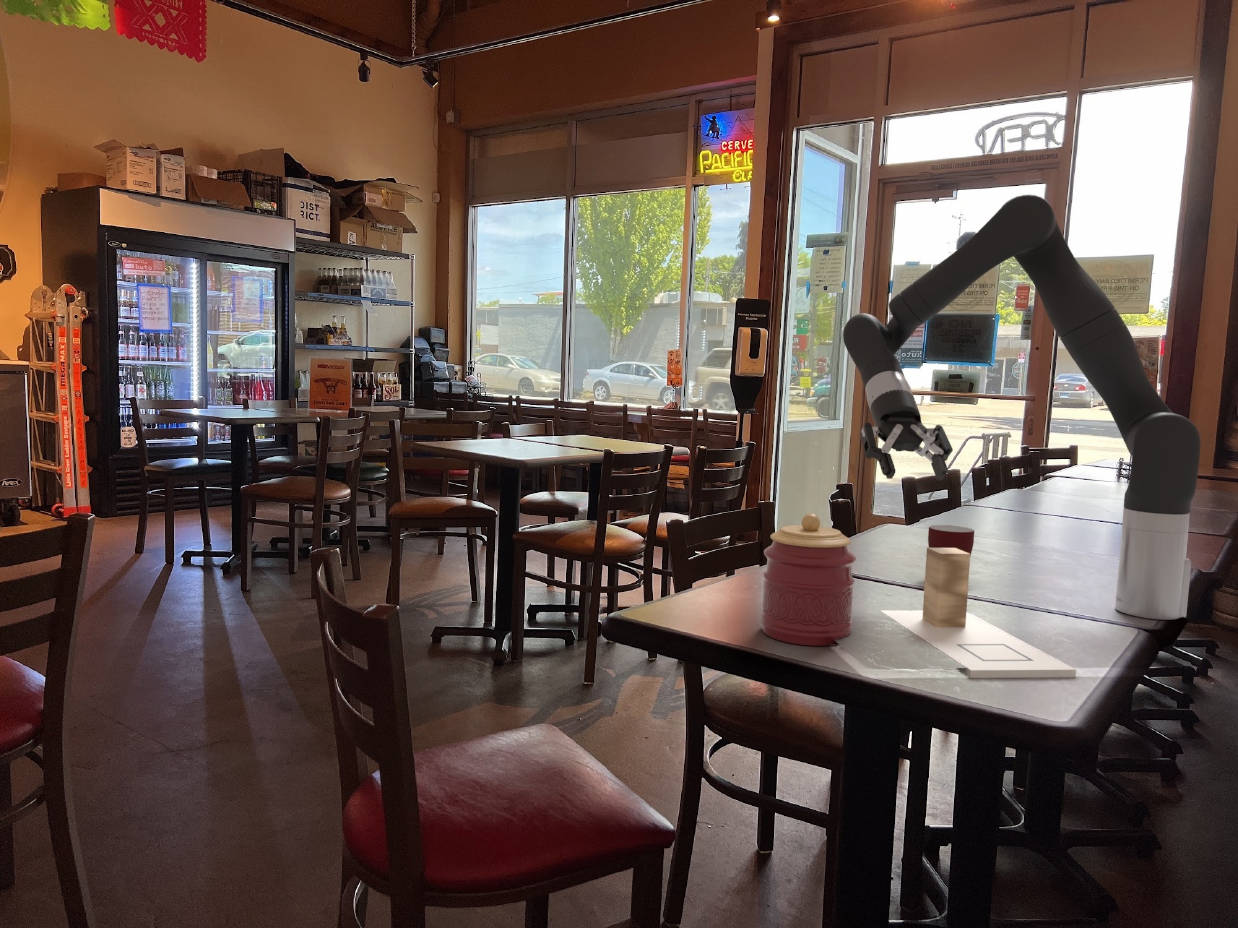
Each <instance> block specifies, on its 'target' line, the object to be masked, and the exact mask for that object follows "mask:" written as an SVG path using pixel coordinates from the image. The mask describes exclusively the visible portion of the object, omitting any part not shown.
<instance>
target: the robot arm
mask: <svg viewBox="0 0 1238 928" xmlns="http://www.w3.org/2000/svg"><path fill="white" fill-rule="evenodd" d="M1011 258H1014V259H1015V260H1016V261H1017V263H1018V264H1019V265H1020V267H1021V268H1022V269H1023V270H1024V272H1025V273H1026V274H1027V276H1028V277H1029V279H1030V280H1031V282H1032V284H1033V286H1034V287H1035V289H1036V291H1037V294H1038V295H1039V299H1040V300H1041V303H1042V305H1043V308H1044V310H1045V312H1046V315H1047V317H1048V319H1049V321H1050V324H1051V325H1052V327H1053V329H1054V331H1055V332H1056V335H1057V336H1058V338H1059V339H1060V341H1061V343H1062V344H1063V346H1064V348H1065V349H1066V351H1067V352H1068V354H1069V355H1070V357H1071V359H1072V360H1073V361H1074V363H1075V364H1076V365H1077V367H1078V369H1079V370H1080V371H1081V373H1082V374H1083V376H1084V377H1085V378H1086V380H1088V382H1089V383H1090V385H1091V386H1092V387H1093V389H1094V390H1095V391H1096V392H1097V393H1098V394H1099V396H1100V398H1101V399H1102V400H1103V402H1104V403H1105V405H1106V407H1107V409H1108V411H1109V412H1110V415H1111V416H1112V418H1113V421H1114V423H1115V424H1116V426H1117V429H1118V431H1119V433H1120V435H1121V438H1122V439H1123V442H1124V445H1125V447H1126V448H1127V450H1128V453H1129V454H1130V455H1131V463H1130V472H1129V473H1130V474H1129V481H1128V486H1127V487H1126V490H1125V493H1124V498H1123V511H1122V523H1121V524H1122V525H1121V535H1120V546H1119V557H1118V572H1117V579H1116V581H1117V583H1116V592H1115V593H1116V595H1115V603H1114V604H1115V605H1114V606H1115V607H1114V608H1115V610H1117V611H1118V612H1121V613H1124V614H1125V615H1129V616H1135V617H1138V618H1144V619H1152V620H1165V621H1167V620H1168V621H1169V620H1170V621H1171V620H1172V621H1173V620H1178V619H1180V618H1187V609H1188V601H1189V600H1188V599H1189V589H1190V579H1191V568H1192V561H1191V559H1189V558H1187V547H1188V538H1189V526H1190V516H1191V515H1190V512H1191V505H1192V502H1193V499H1194V497H1195V495H1196V489H1197V483H1198V482H1197V481H1198V475H1199V468H1200V467H1199V465H1200V456H1201V444H1202V442H1201V435H1200V432H1199V429H1198V428H1197V426H1196V425H1195V424H1194V422H1193V421H1191V420H1190V419H1189V418H1187V417H1185V416H1184V415H1181V414H1177V413H1174V412H1173V411H1172V410H1171V409H1170V408H1169V407H1168V404H1166V402H1164V400H1163V399H1162V397H1161V396H1160V394H1159V393H1158V392H1157V390H1156V389H1155V387H1154V386H1153V384H1152V383H1151V381H1150V380H1149V378H1148V376H1147V373H1146V371H1145V367H1144V366H1143V362H1142V359H1141V357H1140V353H1139V350H1138V348H1137V345H1136V343H1135V340H1134V338H1133V336H1132V333H1131V332H1130V329H1129V328H1128V326H1127V325H1126V323H1125V321H1124V320H1123V318H1122V317H1121V315H1120V314H1119V312H1118V310H1117V308H1115V306H1114V304H1113V303H1112V301H1111V300H1110V298H1108V296H1107V294H1106V293H1105V292H1104V290H1102V288H1101V287H1100V286H1099V285H1098V283H1097V282H1096V281H1095V280H1094V279H1093V278H1092V277H1091V275H1090V274H1088V272H1087V271H1086V270H1085V269H1084V268H1083V267H1082V265H1080V263H1079V261H1078V260H1077V259H1076V258H1075V256H1074V254H1073V253H1072V251H1071V249H1070V247H1069V244H1068V243H1067V241H1066V239H1065V237H1064V234H1063V233H1062V230H1061V229H1060V227H1059V223H1058V221H1057V218H1056V215H1055V211H1054V209H1053V207H1052V205H1051V203H1050V202H1049V201H1047V200H1046V199H1045V198H1044V197H1042V196H1040V195H1037V194H1031V193H1028V194H1027V193H1025V194H1020V195H1016V196H1014V197H1011V198H1010V199H1009V200H1007V201H1006V202H1005V203H1003V205H1002V206H1001V207H1000V208H999V210H997V212H995V214H994V215H992V217H991V218H990V219H988V221H987V222H986V223H985V224H984V225H983V226H982V227H981V228H980V229H979V230H978V231H977V232H976V233H975V234H973V236H972V237H971V238H969V239H968V240H967V241H966V242H965V243H964V244H963V245H961V247H959V248H957V250H955V251H954V252H953V253H951V254H950V255H948V257H946V258H945V259H944V260H942V261H940V262H939V263H937V264H936V265H935V266H934V267H932V268H931V269H929V270H928V271H927V272H925V273H924V274H923V275H921V276H920V277H919V278H918V279H916V280H914V281H913V282H912V283H910V284H909V285H908V286H907V287H905V288H904V289H903V290H901V291H900V292H899V293H898V294H896V295H895V296H893V298H892V299H891V300H890V301H889V303H888V310H889V311H890V313H891V315H892V317H891V318H890V320H889V321H888V323H886V325H884V324H883V323H882V322H881V321H880V320H879V319H878V318H877V317H876V316H874V315H873V314H869V313H865V312H863V313H858V314H854V315H853V316H852V317H850V318H849V319H848V320H847V322H846V324H845V325H844V327H843V328H844V329H843V333H842V339H843V344H844V345H845V349H846V350H847V352H848V354H849V356H850V359H851V360H852V361H853V363H854V365H855V366H856V368H857V370H858V372H859V373H860V377H861V382H862V383H863V387H864V390H865V395H866V401H867V405H868V408H869V411H870V413H871V417H872V419H873V423H874V426H872V423H871V422H867V421H866V422H865V423H864V424H863V427H862V429H861V430H860V433H859V436H860V439H861V444H862V449H863V452H864V453H863V454H864V457H865V458H866V459H872V458H873V459H875V460H876V461H877V462H878V464H879V467H880V470H881V473H882V475H883V476H885V477H886V479H888V480H889V479H891V480H892V479H893V478H894V476H895V474H896V467H895V464H894V461H893V458H892V455H891V453H890V451H891V450H892V449H893V450H895V452H904V451H905V452H909V453H910V452H912V453H913V452H915V453H916V454H917V455H919V456H920V457H922V458H923V457H925V458H926V459H927V460H928V461H930V462H931V463H930V464H931V467H932V470H933V473H934V475H935V478H936V479H935V480H937V481H943V480H944V478H945V477H946V476H947V473H948V471H949V468H948V465H947V463H946V461H948V459H949V457H950V456H951V454H952V452H953V447H952V445H951V442H950V440H949V438H948V436H947V434H946V432H945V429H944V427H943V426H942V425H941V424H936V425H935V427H931V428H927V427H926V426H925V425H924V424H923V423H922V417H921V416H922V415H921V412H920V409H919V407H918V404H917V402H916V398H915V397H914V394H913V391H912V387H911V386H910V384H909V382H908V380H907V378H906V376H905V374H904V371H903V369H902V366H901V364H900V361H899V360H898V358H897V357H896V354H897V353H898V351H900V349H901V348H902V347H903V345H904V344H906V342H907V341H908V339H909V338H910V337H911V336H912V335H913V334H914V333H915V331H916V330H917V329H918V328H919V327H920V326H922V325H923V324H925V323H926V322H927V321H929V320H930V319H931V318H933V317H935V316H936V315H937V314H938V313H940V312H941V311H942V310H944V309H945V308H946V307H947V306H949V305H950V304H951V303H952V302H953V301H955V300H956V299H957V298H959V296H961V294H963V293H964V292H965V291H966V290H967V289H968V288H969V287H970V286H972V285H973V284H974V283H975V282H976V281H978V280H979V279H980V278H981V277H983V276H984V275H986V274H987V273H988V272H989V271H991V270H992V269H994V268H995V267H997V266H999V265H1001V263H1003V262H1005V261H1007V260H1009V259H1011ZM876 436H877V437H878V438H879V439H880V440H881V441H882V442H884V444H883V445H882V446H881V447H878V446H877V441H876V438H875V437H876ZM922 443H924V446H923V447H922V446H921V445H922Z"/></svg>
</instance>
